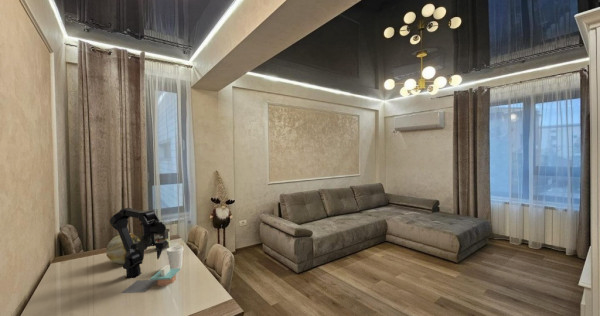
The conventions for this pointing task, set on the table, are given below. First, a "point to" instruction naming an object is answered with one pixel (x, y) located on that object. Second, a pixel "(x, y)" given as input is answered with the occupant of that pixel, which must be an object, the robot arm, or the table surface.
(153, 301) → the table surface
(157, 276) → the cover plate
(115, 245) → the decorative sphere
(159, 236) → the coffee can
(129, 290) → the mat
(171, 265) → the foam cup
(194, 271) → the table surface
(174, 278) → the bowl
